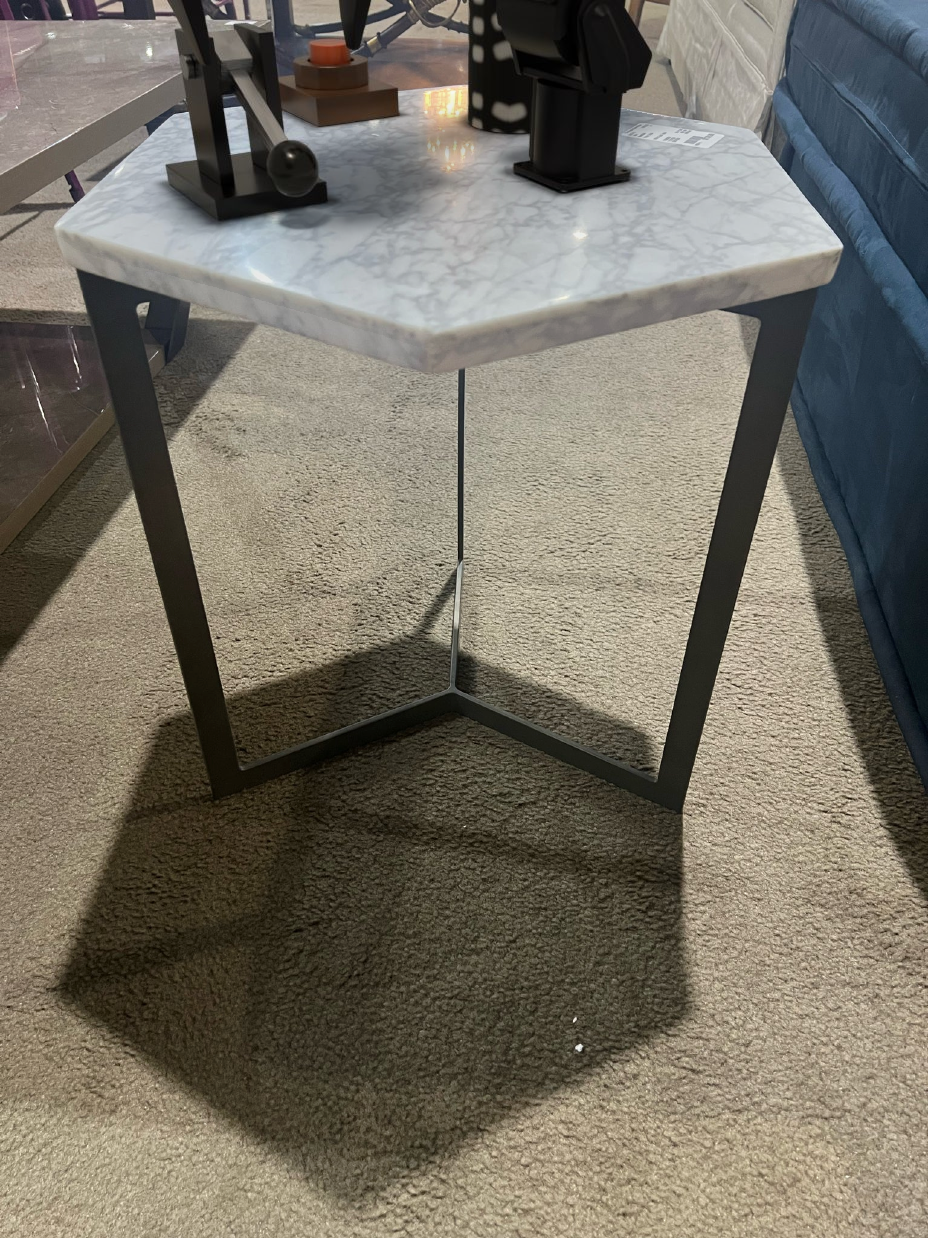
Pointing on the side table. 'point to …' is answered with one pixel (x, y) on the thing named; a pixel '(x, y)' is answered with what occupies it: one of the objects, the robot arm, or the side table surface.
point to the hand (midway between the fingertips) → (281, 56)
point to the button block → (336, 92)
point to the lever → (264, 118)
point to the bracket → (217, 173)
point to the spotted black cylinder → (494, 75)
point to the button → (329, 51)
